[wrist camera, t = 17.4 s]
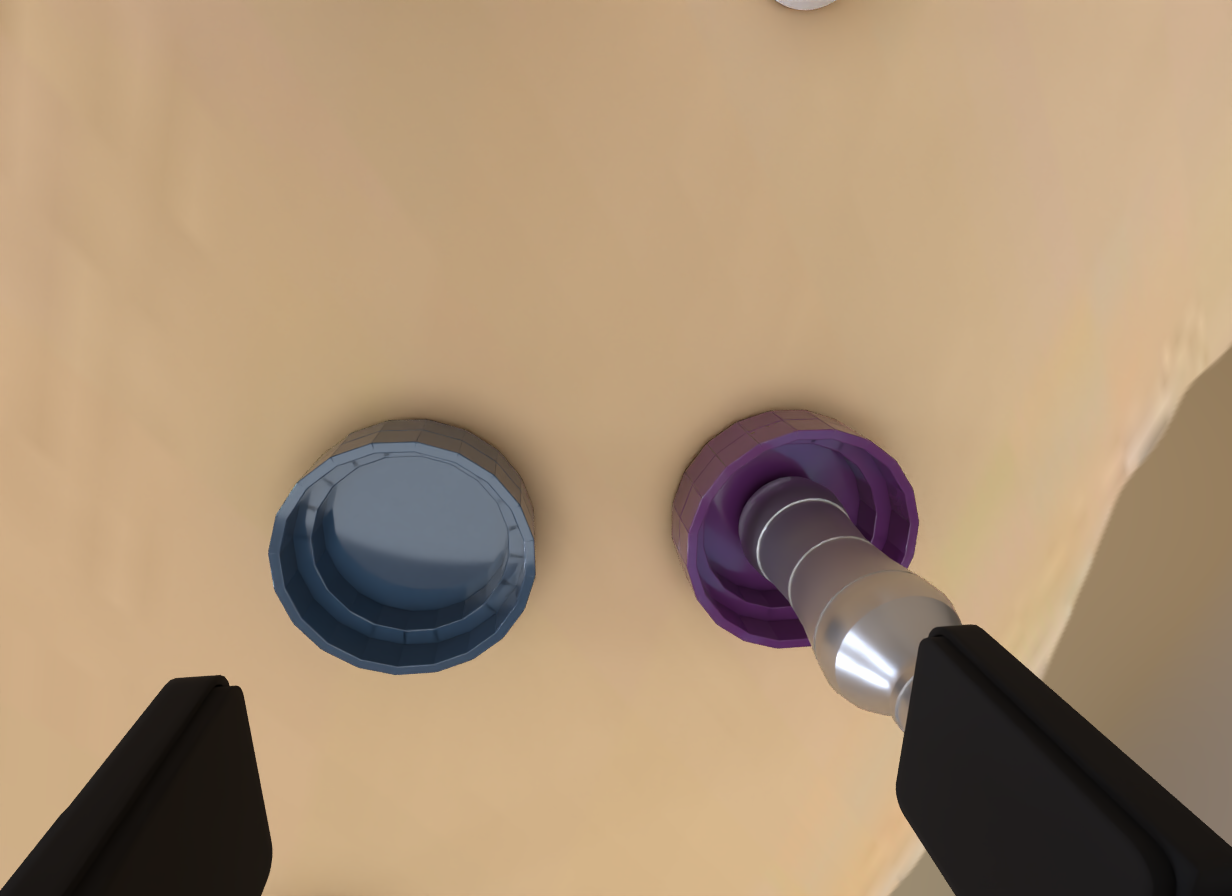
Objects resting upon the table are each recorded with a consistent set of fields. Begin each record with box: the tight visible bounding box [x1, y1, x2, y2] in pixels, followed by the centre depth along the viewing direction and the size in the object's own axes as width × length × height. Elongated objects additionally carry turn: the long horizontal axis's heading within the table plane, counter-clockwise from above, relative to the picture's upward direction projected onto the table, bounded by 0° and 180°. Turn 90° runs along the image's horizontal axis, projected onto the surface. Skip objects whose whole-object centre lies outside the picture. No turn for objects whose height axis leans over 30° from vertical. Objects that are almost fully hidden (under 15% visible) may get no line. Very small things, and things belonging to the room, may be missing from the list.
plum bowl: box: [672, 410, 919, 648], centre depth 43 cm, size 14×14×5 cm
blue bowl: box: [268, 419, 536, 675], centre depth 40 cm, size 14×14×5 cm
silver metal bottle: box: [738, 476, 962, 732], centre depth 35 cm, size 6×7×20 cm
